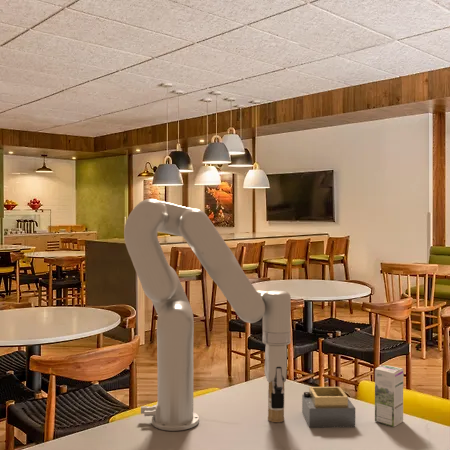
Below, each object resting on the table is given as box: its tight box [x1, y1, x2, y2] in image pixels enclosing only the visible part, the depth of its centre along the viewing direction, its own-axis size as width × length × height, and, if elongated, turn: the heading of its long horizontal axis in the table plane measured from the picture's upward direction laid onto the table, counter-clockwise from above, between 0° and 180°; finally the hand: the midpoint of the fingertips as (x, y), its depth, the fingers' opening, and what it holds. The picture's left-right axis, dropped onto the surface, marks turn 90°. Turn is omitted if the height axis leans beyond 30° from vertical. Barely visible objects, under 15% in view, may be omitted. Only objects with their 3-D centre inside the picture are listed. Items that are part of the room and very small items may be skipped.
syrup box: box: [374, 364, 404, 428], centre depth 146 cm, size 6×6×14 cm
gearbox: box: [301, 386, 356, 429], centre depth 148 cm, size 12×11×8 cm
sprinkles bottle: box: [267, 379, 285, 423], centre depth 148 cm, size 5×5×13 cm
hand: (276, 403), depth 148 cm, fingers closed on sprinkles bottle, 4 cm apart
